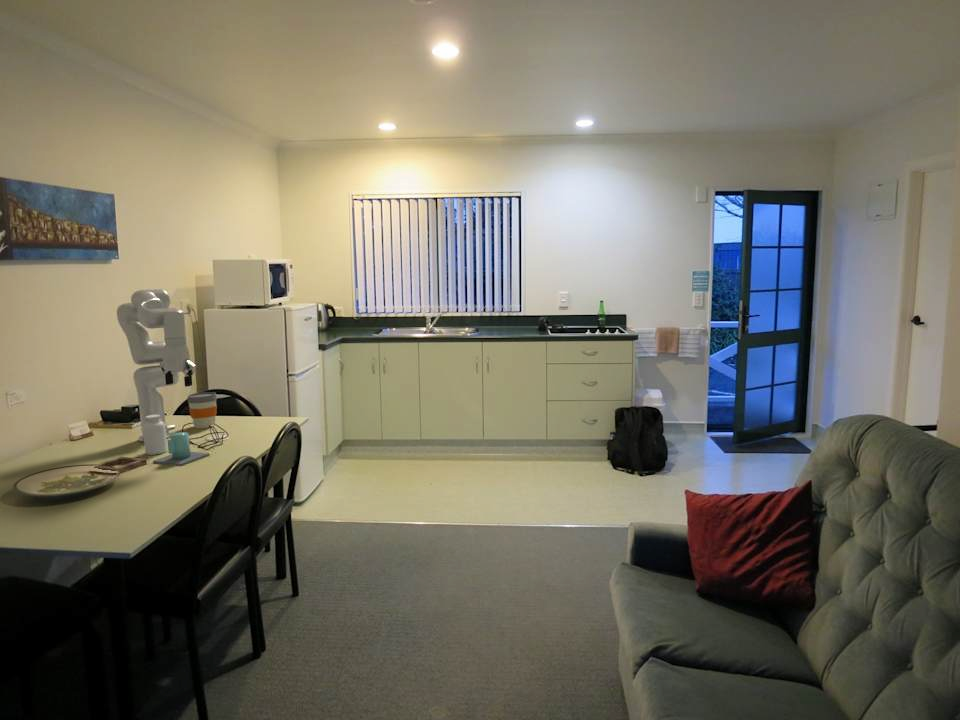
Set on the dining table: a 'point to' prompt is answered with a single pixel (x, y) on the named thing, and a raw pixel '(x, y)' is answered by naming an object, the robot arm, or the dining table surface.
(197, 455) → the plate
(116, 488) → the dining table surface
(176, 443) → the turquoise mug
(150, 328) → the robot arm
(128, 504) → the dining table surface
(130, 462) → the brown square tray
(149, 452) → the pill bottle
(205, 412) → the reusable coffee cup
